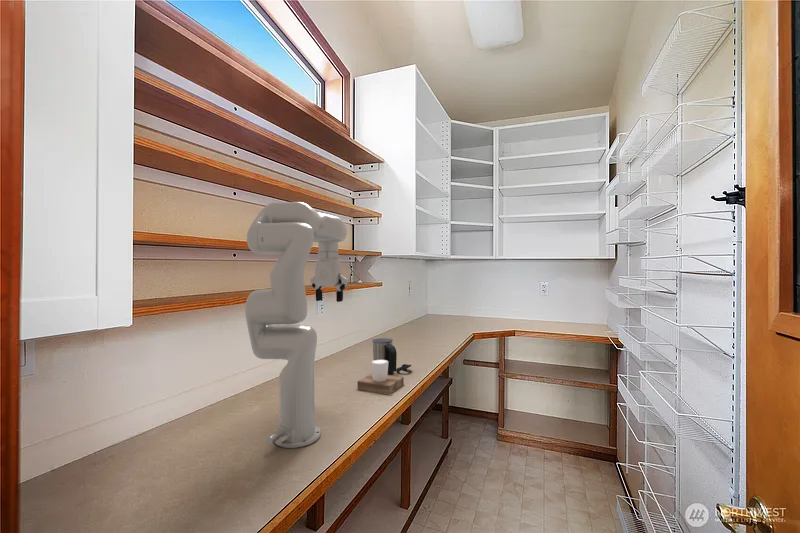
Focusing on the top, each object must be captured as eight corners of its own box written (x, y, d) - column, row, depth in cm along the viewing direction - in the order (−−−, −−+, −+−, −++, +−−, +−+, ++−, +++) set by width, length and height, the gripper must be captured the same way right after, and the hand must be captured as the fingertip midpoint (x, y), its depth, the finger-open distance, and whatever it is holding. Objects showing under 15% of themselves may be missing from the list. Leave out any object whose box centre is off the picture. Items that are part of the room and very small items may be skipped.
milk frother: (368, 374, 160) (367, 340, 160) (391, 365, 172) (390, 334, 172) (393, 380, 151) (392, 344, 151) (415, 370, 164) (414, 337, 164)
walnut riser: (389, 394, 134) (389, 386, 134) (357, 389, 141) (357, 381, 141) (403, 384, 145) (403, 377, 145) (373, 380, 151) (373, 372, 151)
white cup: (388, 382, 139) (388, 363, 139) (370, 382, 140) (370, 363, 139) (389, 376, 146) (388, 359, 146) (372, 376, 146) (371, 359, 146)
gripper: (304, 256, 140) (305, 301, 140) (341, 255, 132) (342, 302, 133) (316, 257, 147) (317, 299, 147) (352, 256, 139) (353, 300, 139)
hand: (329, 301), depth 140 cm, fingers open, 9 cm apart
